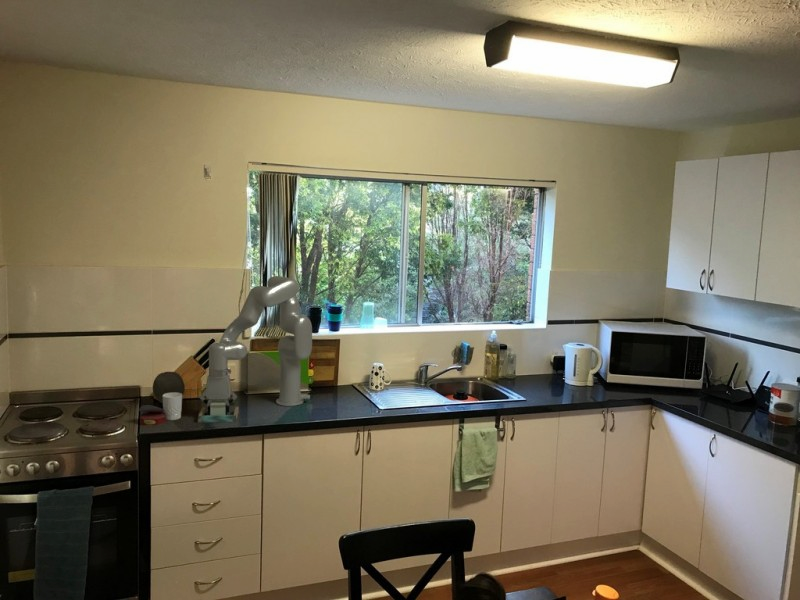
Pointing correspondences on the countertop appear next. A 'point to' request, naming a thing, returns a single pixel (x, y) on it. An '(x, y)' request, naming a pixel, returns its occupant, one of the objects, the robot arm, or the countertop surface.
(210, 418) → the bay
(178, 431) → the countertop surface
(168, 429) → the countertop surface
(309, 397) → the robot arm
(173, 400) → the white cup
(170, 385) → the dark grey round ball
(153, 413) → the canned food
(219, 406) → the crate
